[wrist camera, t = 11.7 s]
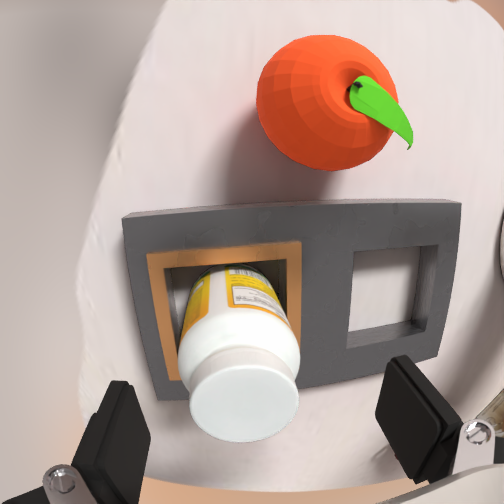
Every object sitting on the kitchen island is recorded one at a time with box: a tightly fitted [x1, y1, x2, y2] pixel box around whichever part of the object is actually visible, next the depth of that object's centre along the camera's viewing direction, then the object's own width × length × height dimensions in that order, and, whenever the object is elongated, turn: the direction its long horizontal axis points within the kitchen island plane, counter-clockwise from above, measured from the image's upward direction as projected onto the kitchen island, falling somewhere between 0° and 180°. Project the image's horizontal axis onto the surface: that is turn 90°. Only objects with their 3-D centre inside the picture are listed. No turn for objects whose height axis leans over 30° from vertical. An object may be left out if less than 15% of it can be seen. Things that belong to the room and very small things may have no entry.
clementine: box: [256, 35, 413, 171], centre depth 14 cm, size 8×7×7 cm
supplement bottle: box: [178, 263, 300, 443], centre depth 15 cm, size 5×5×10 cm
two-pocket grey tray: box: [122, 199, 461, 400], centre depth 19 cm, size 21×12×2 cm, turn 93°
